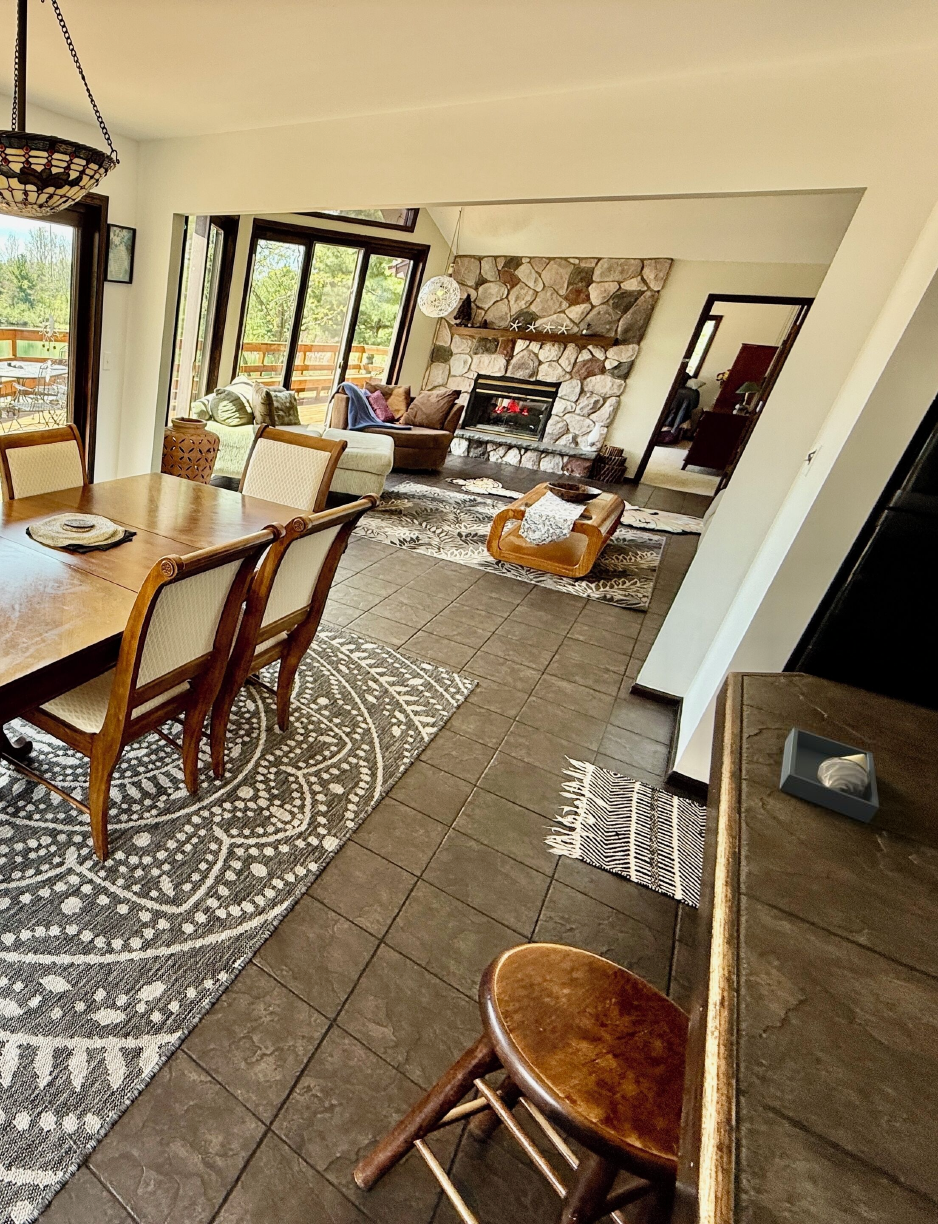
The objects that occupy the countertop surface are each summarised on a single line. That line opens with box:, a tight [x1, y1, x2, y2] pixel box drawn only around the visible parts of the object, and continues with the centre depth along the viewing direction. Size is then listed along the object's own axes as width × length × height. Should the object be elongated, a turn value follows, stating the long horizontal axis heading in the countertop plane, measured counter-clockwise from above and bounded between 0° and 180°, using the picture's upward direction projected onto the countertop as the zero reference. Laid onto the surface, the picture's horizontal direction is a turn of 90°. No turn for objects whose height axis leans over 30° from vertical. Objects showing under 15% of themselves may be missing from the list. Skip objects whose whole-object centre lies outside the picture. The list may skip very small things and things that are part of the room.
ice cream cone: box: [818, 754, 870, 793], centre depth 95 cm, size 5×5×15 cm
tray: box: [779, 727, 880, 824], centre depth 98 cm, size 20×9×3 cm, turn 133°
